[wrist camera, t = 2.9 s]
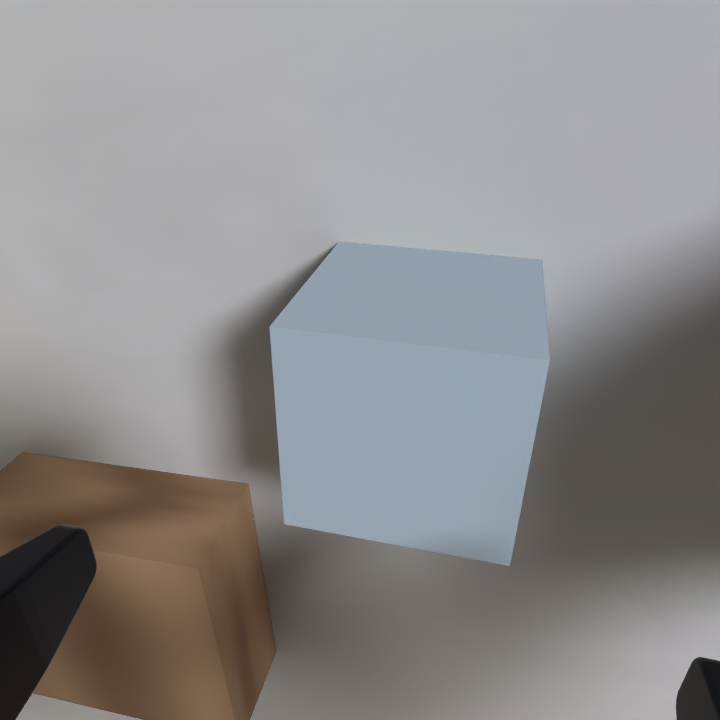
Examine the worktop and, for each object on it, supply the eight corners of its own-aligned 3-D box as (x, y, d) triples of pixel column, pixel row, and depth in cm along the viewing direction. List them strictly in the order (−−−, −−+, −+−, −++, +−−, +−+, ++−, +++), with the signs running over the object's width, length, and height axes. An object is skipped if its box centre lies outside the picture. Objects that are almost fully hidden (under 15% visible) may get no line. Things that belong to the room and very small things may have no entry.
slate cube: (541, 258, 14) (549, 360, 10) (513, 428, 17) (510, 566, 13) (339, 240, 15) (269, 326, 11) (340, 403, 18) (283, 523, 14)
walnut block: (252, 477, 20) (198, 568, 17) (278, 644, 25) (240, 742, 22) (28, 447, 22) (-60, 523, 19) (90, 606, 27) (27, 691, 24)
